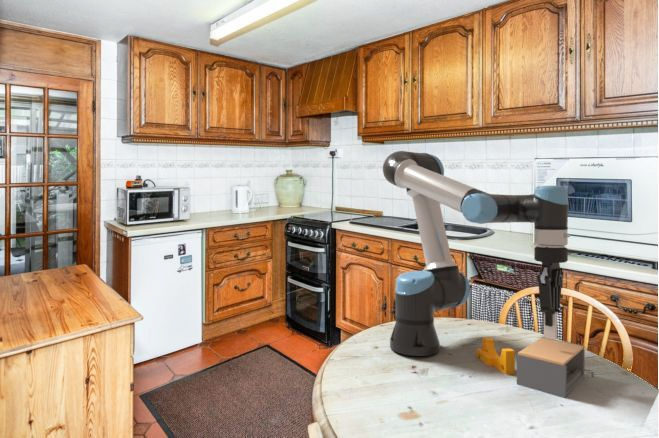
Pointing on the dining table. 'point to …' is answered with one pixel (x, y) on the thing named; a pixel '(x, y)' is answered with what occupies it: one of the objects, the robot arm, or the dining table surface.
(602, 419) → the dining table surface
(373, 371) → the dining table surface
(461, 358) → the dining table surface
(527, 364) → the housing
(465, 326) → the dining table surface
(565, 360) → the tan rectangular panel
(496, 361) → the pipe clamp
